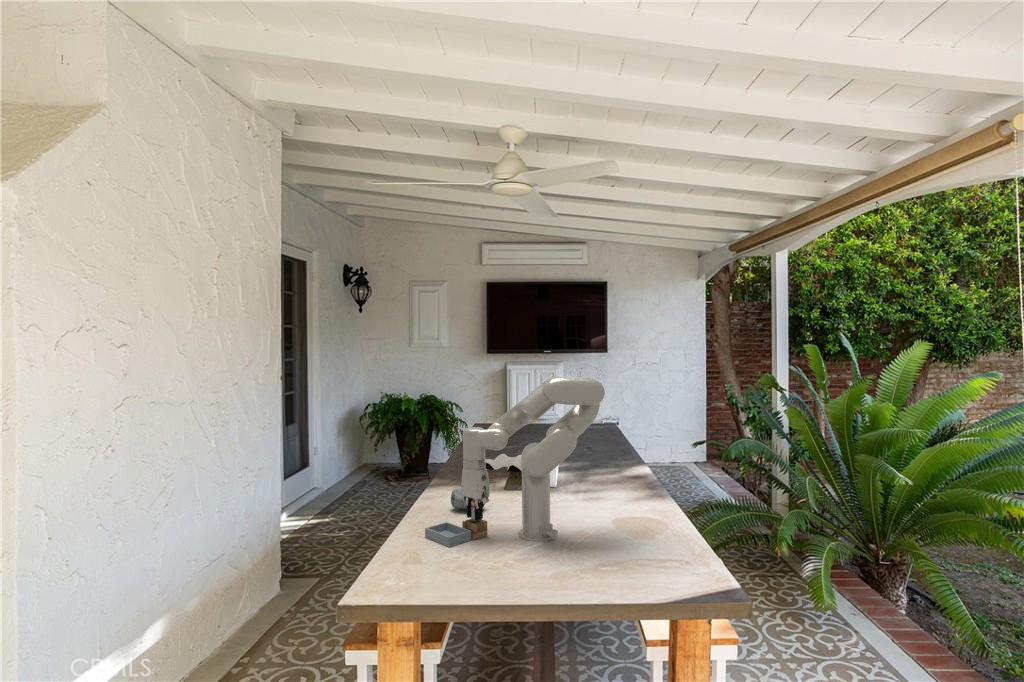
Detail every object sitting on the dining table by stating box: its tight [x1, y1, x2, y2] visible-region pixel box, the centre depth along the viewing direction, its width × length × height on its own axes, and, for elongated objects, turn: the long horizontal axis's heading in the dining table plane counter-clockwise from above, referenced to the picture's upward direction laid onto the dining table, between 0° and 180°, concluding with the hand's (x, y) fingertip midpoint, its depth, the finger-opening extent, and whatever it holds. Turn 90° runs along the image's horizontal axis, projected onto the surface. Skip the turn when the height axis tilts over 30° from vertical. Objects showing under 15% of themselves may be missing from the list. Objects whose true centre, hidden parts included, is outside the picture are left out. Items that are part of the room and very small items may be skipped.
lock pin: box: [470, 500, 478, 523], centre depth 191 cm, size 2×2×10 cm
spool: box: [450, 486, 480, 510], centre depth 220 cm, size 14×10×10 cm
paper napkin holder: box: [485, 453, 522, 472], centre depth 286 cm, size 25×19×10 cm
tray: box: [424, 521, 472, 548], centre depth 189 cm, size 13×9×3 cm
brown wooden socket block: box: [461, 518, 488, 541], centre depth 191 cm, size 6×6×5 cm
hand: (474, 517), depth 191 cm, fingers open, 3 cm apart
